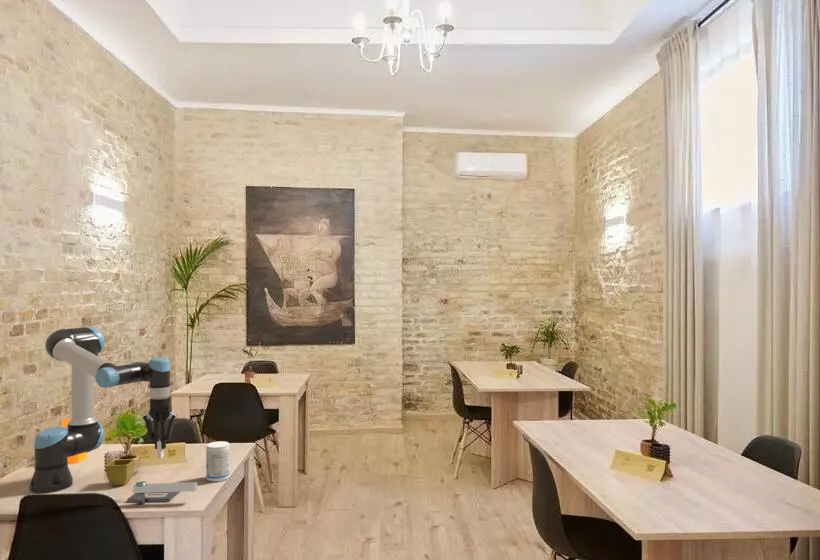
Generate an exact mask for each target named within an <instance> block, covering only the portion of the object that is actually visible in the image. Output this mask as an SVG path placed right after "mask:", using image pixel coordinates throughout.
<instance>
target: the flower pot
mask: <svg viewBox="0 0 820 560" xmlns="http://www.w3.org/2000/svg"><path fill="white" fill-rule="evenodd" d="M135 463H136V459H135V458H133V459H132V458H131V459H130V458H129V459H113V460H112V461H110V462H108V463H107V464H106V465H105V472H106V477H107V480H108V481H109V483H110V485H111V486H112V487H113V486H125V485H127V484H128V483H129V482H130V481H131V479H132V477H133V475H134V472H135V465H136V464H135Z"/></svg>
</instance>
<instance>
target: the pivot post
mask: <svg viewBox="0 0 820 560" xmlns="http://www.w3.org/2000/svg"><path fill="white" fill-rule="evenodd" d="M136 504H137V505H138V506H140V505H141V506H142V505H145V504H146V502H145V493H137V502H136Z"/></svg>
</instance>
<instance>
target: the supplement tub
mask: <svg viewBox="0 0 820 560" xmlns="http://www.w3.org/2000/svg"><path fill="white" fill-rule="evenodd" d="M230 449H231V448H230V443H229V442H228V441H224V440H223V441H213V442H209V443H207V444H206V448H205V450H206V451H205V459H206V460H205V461H206V462H205V465H206V467H205V471H206V472H205V473H206V474H205V476H206V480H207V481H208V482H214V483H216V482H217V483H218V482H222V481H223V482H224V481H226V480H228V479H229V478H230V475H231V474H230V472H231V471H230V469H231V468H230V464H231V459H230V454H231V453H230Z"/></svg>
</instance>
